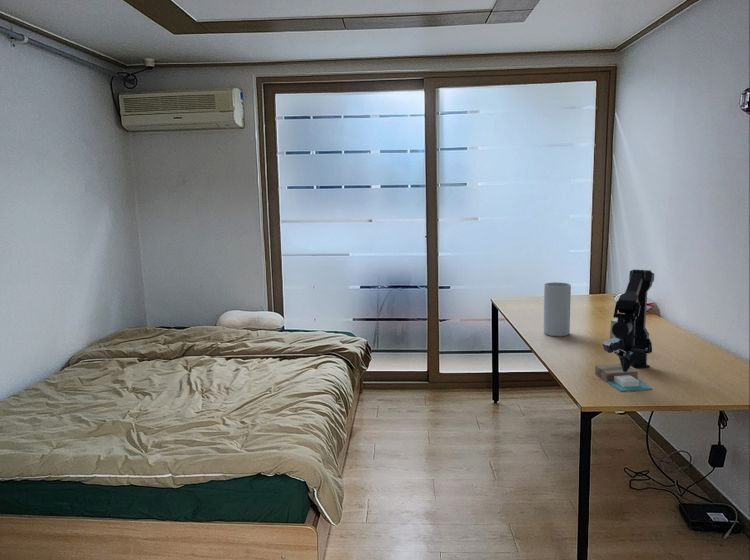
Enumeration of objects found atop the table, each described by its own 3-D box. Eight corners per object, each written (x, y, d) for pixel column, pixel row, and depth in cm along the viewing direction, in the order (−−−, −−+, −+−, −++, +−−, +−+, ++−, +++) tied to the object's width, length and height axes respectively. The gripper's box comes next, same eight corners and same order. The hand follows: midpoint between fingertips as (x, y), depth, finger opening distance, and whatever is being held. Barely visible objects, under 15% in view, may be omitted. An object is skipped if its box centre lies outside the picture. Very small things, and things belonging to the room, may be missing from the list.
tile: (613, 380, 223) (614, 375, 223) (629, 379, 224) (629, 374, 223) (623, 386, 216) (623, 381, 216) (638, 386, 217) (639, 380, 216)
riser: (594, 374, 233) (595, 365, 232) (623, 372, 234) (624, 363, 233) (607, 382, 223) (607, 373, 223) (637, 380, 224) (637, 371, 224)
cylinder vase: (572, 336, 288) (574, 286, 284) (547, 337, 289) (548, 287, 285) (565, 330, 301) (566, 282, 297) (540, 330, 301) (541, 282, 297)
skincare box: (608, 345, 271) (609, 320, 269) (613, 344, 274) (614, 318, 272) (622, 348, 266) (623, 322, 264) (627, 346, 269) (628, 320, 267)
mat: (607, 382, 223) (607, 381, 223) (637, 380, 224) (638, 379, 224) (620, 391, 213) (620, 390, 213) (652, 389, 214) (652, 388, 214)
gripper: (594, 326, 227) (592, 365, 230) (618, 339, 209) (616, 381, 212) (621, 325, 228) (620, 363, 231) (648, 337, 210) (646, 379, 213)
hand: (624, 371), depth 222 cm, fingers closed
